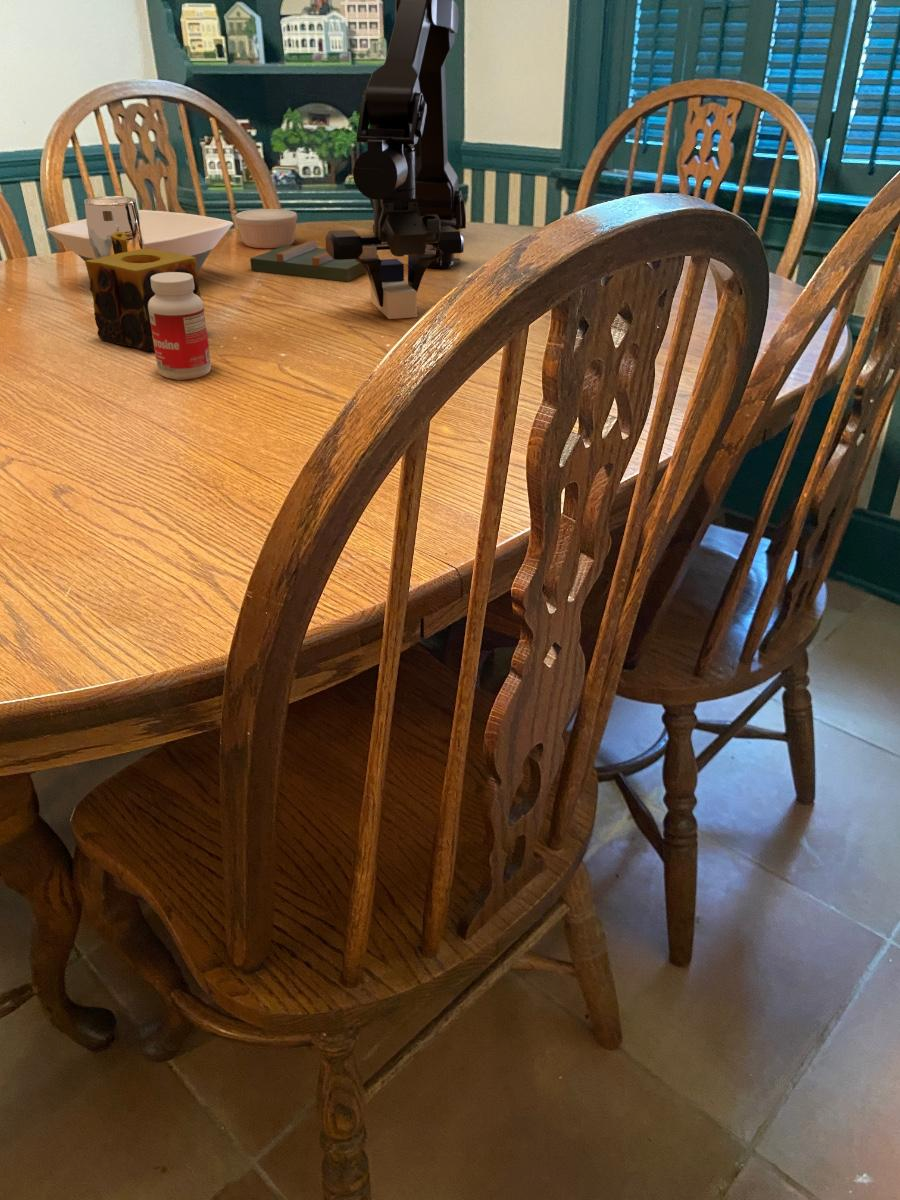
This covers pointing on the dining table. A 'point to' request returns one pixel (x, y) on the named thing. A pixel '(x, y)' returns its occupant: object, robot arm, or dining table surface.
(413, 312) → the cream and navy block
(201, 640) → the dining table surface
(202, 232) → the bowl
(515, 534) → the dining table surface
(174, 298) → the pill bottle
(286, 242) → the ramekin
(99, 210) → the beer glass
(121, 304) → the candle
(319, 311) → the dining table surface
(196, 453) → the dining table surface
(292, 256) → the green board with rails
